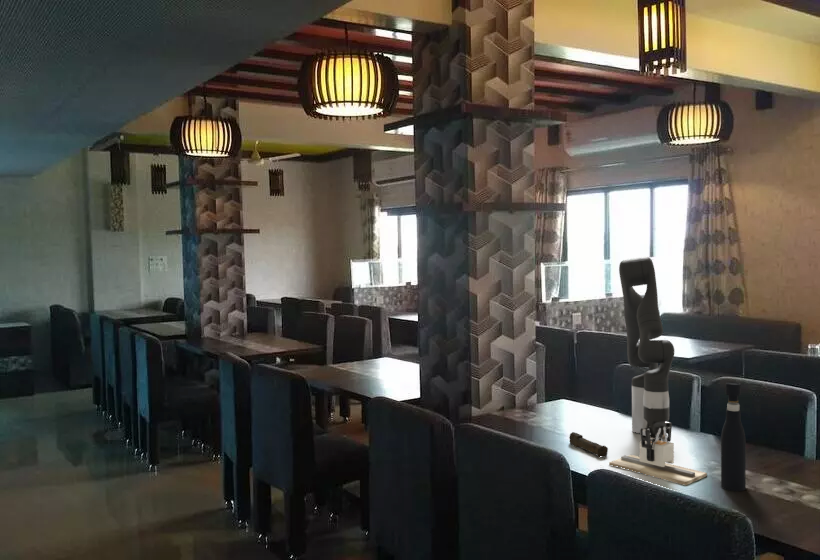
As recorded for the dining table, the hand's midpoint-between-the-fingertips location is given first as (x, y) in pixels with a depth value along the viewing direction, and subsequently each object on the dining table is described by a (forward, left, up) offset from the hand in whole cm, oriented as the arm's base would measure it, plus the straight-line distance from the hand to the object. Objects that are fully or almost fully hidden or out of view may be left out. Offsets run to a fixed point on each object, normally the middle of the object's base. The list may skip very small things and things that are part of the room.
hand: (656, 458), depth 220 cm
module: (0, 0, -1) cm, 1 cm away
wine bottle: (-2, +23, -4) cm, 23 cm away
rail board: (0, 0, -4) cm, 4 cm away
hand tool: (-2, -29, -4) cm, 29 cm away
